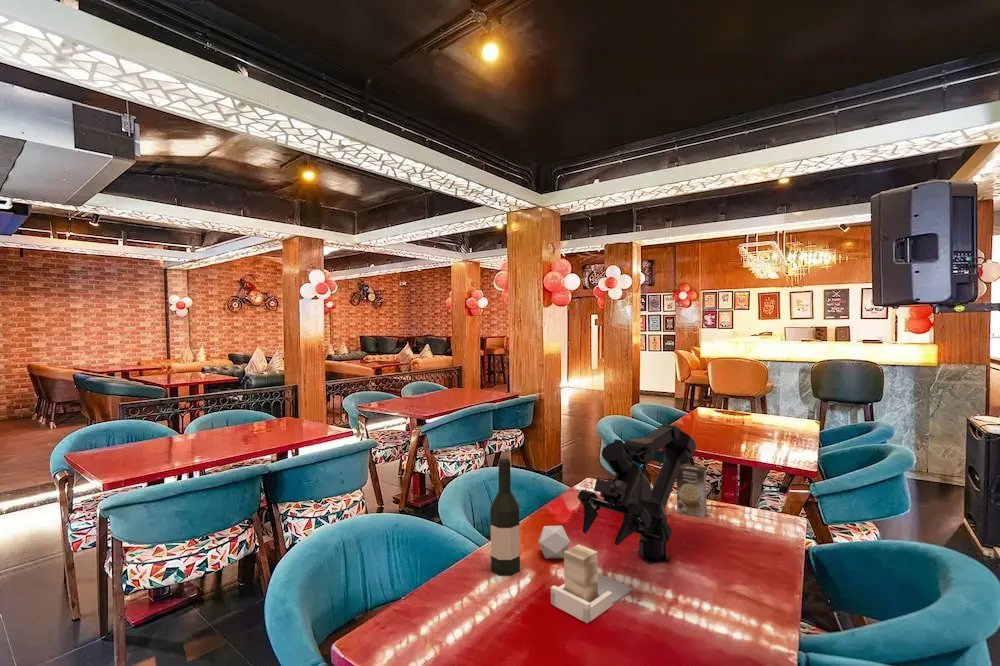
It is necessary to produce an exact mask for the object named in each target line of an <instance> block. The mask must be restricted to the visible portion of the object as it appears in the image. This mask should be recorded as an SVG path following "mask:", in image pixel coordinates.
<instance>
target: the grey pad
mask: <svg viewBox="0 0 1000 666" xmlns="http://www.w3.org/2000/svg"><path fill="white" fill-rule="evenodd" d="M633 590H634V588H633V587H631V586H629V585H627V584H624V583H621V582H620V581H617V580H614V579H613V578H610V577H608V576H605V575H603V574H601V573H598V597H599V596H601V595H602V594H604V593H605V592H607V591H610V592H612V604H616V603H617V602H618V601H620V600H621V599H623V598H624V597H625V596H627V595H628V594H629V593H631V592H633Z"/></svg>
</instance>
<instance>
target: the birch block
mask: <svg viewBox="0 0 1000 666" xmlns="http://www.w3.org/2000/svg"><path fill="white" fill-rule="evenodd" d="M598 561H599V560H598V551H597V550H593V549H591V548H589V547H586V546H584V545H581V544H576V545H574V546H572V547H570V548H568V549H567V550H566V551H565V552H564V558H563V564H564V565H563V568H564V569H563V574H564V575H563V578H564V579H563V581H564V583H563V584H564V590H565V591H567V592H569V593H571V594H573V595H575V596H577V597H579V598H581V599H583V600H585V601H587V602H589V603H590V602H592V601H593V600H595V599H596V598H598V597H599V596H598V574H599V573H598V571H599V569H598V568H599V567H598V565H599V563H598Z"/></svg>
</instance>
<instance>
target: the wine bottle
mask: <svg viewBox="0 0 1000 666" xmlns="http://www.w3.org/2000/svg"><path fill="white" fill-rule="evenodd" d="M511 483H512V482H511V459H509V456H500V457H499V459H498V491H497V494H496V496H495V497H494V499H493V501H492V503H491V504H490V514H489V515H490V572H492V573H493V574H496V575H497V576H500V577H501V576H502V577H503V576H504V577H505V576H507V577H512V576H513V575H516V574H518V573H520V572H521V566H520V565H521V556H520V555H521V549H520V548H521V547H520V545H521V544H520V539H521V538H520V531H521V530H520V504H519V502H518V501H517V499H516V496H515V495H514V494H513V493H512V490H511Z"/></svg>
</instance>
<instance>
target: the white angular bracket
mask: <svg viewBox="0 0 1000 666" xmlns="http://www.w3.org/2000/svg"><path fill="white" fill-rule="evenodd" d="M613 604H614V603H612V592H610V591H607V592H605V593H604V594H602V595H601V596H598V598H596V599H595V600H593V601H592V602H590V603H589V602H587V601H585V600H583V599H581V598H579V597H577V596H575V595H573V594H571V593H569V592H567V591H565V590H564V583H563V584H561V585H560V586H557V585H554V584H553V585H552V586H550V605H552V606H554V607H555V608H557V609H559V610H561V611H563V612H565V613H567V614H569V615H571V616H572V617H575V618H576V619H578V620H579V621H581V622H584V623H585V624H589V623H591V622H592V621H593V620H594V619H596V618H598V617H599V616H600V615H602V614H603V613H604V612H606V611H607V610H609V609H610V608H611V607H613V606H614V605H613Z"/></svg>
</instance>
